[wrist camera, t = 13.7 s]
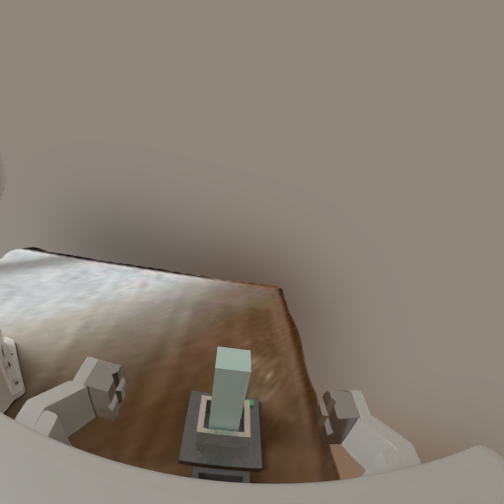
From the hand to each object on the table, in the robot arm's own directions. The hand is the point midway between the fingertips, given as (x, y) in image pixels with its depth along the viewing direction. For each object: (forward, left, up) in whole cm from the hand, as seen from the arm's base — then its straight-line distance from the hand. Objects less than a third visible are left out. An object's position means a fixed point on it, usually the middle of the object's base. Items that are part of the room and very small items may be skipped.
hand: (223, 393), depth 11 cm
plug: (-15, +12, -28) cm, 34 cm away
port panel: (-15, +12, -29) cm, 35 cm away
